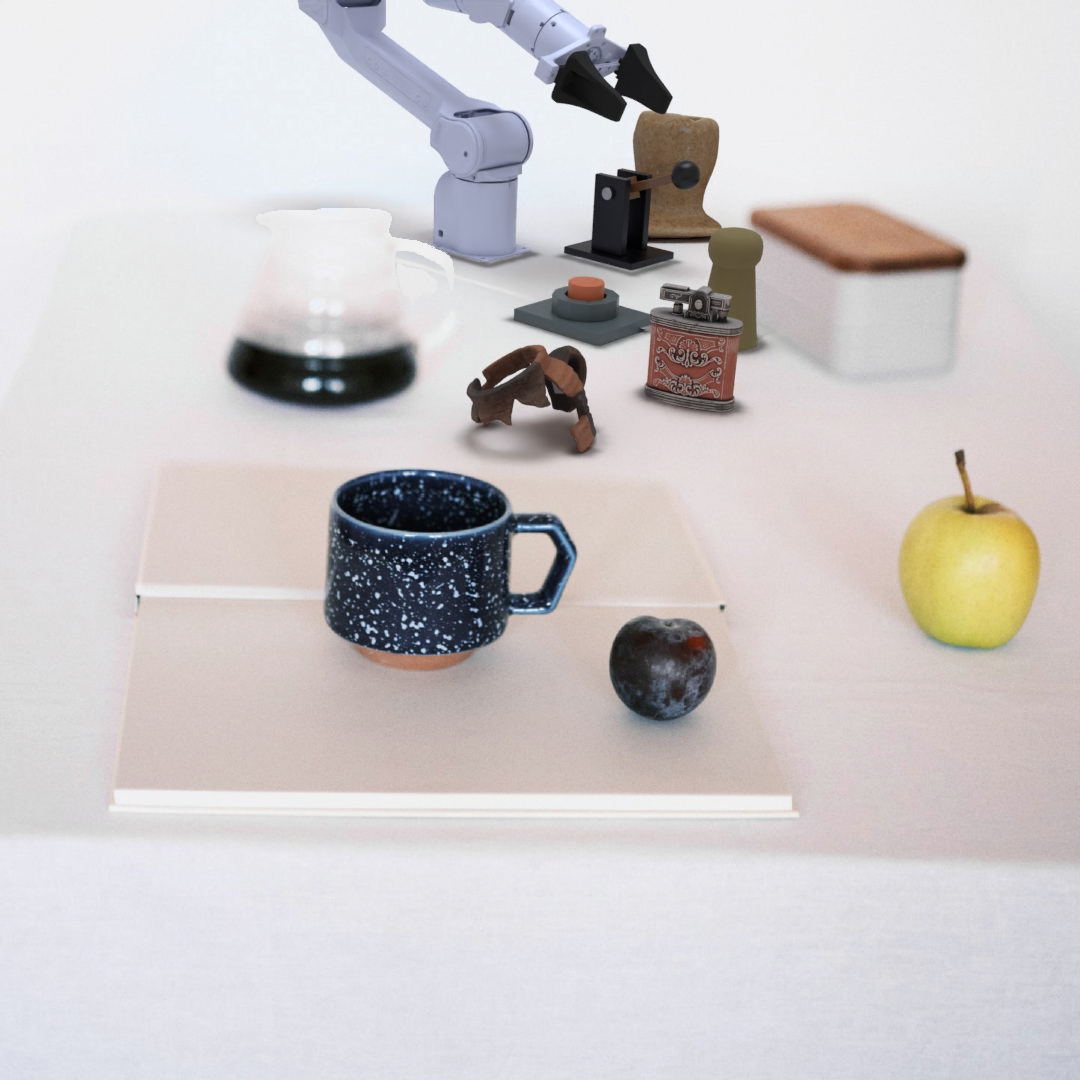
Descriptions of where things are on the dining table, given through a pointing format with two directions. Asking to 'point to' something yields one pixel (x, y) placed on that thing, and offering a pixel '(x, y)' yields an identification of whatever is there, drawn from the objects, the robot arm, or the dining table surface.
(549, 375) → the brown curved pieces
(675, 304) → the lighter
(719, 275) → the cork
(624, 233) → the bracket
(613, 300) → the button block
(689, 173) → the lever
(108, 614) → the dining table surface
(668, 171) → the tan piece
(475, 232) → the robot arm
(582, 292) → the button
